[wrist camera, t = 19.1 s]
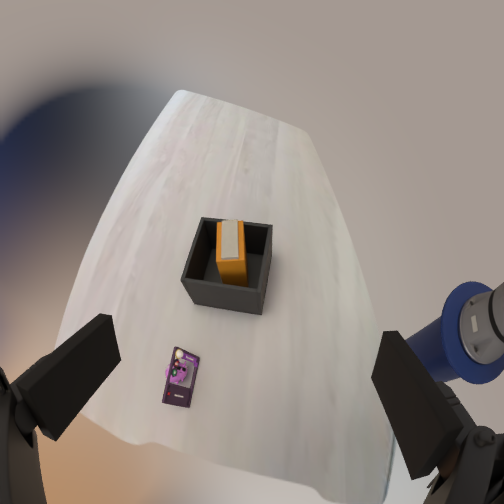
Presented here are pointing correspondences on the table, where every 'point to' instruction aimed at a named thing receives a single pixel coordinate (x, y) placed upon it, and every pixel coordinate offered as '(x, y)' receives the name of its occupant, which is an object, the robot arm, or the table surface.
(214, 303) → the bin
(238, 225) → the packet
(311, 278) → the table surface
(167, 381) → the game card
